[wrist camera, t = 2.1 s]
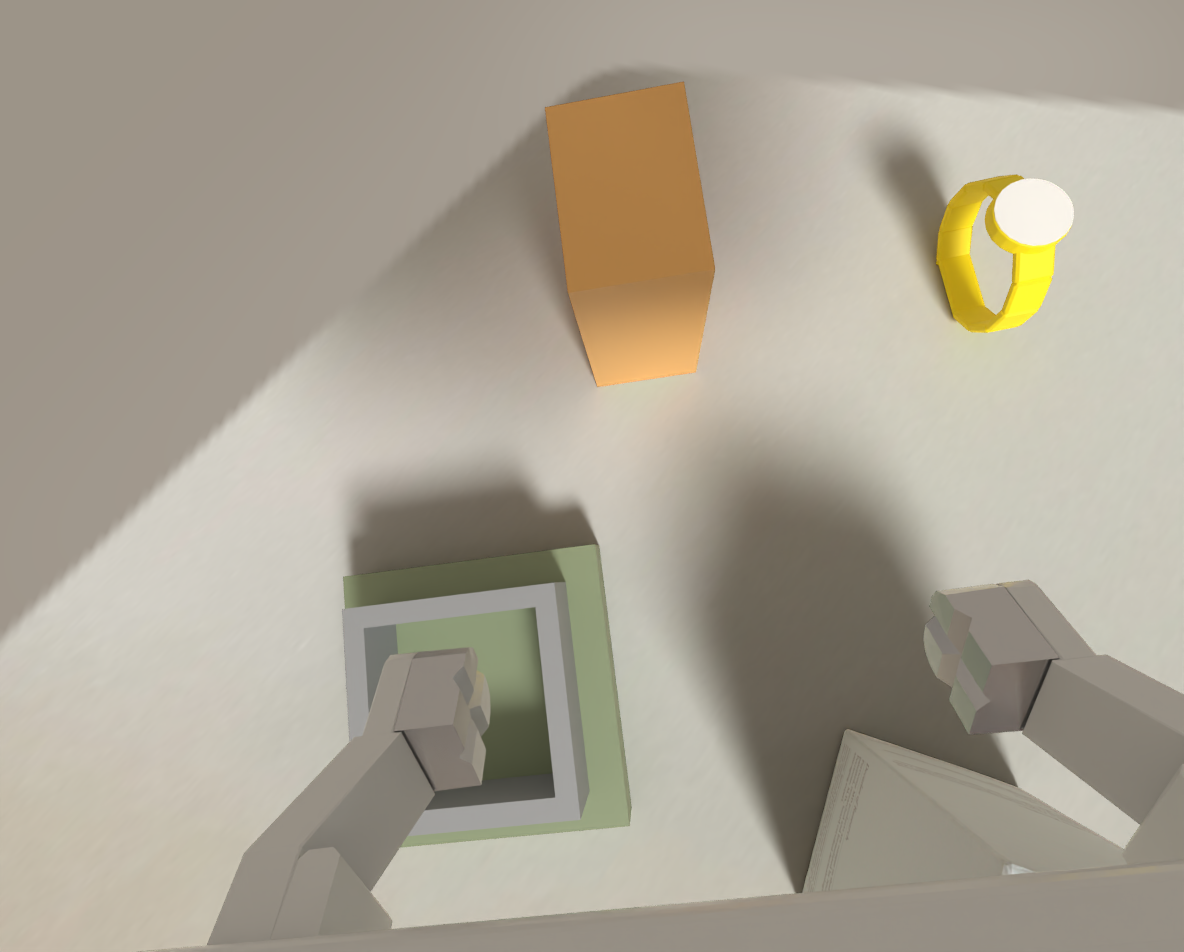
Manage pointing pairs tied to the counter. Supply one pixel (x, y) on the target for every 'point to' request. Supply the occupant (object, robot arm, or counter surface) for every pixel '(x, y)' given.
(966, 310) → the watch
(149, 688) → the counter surface
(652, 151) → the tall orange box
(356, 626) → the grey-rimmed base plate
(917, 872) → the supplement box
